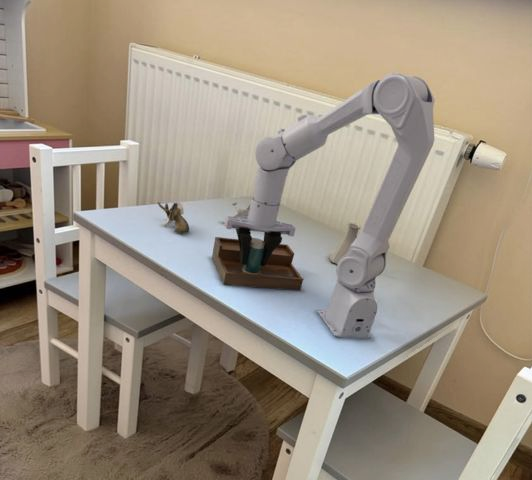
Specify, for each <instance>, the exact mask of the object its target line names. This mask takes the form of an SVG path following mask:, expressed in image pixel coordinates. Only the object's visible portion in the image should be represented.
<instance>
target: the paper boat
mask: <svg viewBox="0 0 532 480" xmlns="http://www.w3.org/2000/svg"><path fill="white" fill-rule="evenodd" d="M237 204H238V202H234V203H231V205H232V206H233V207H234V208H235V209H237V214H235V215H233V217H248V215H249V210H250V205H251V203H250V204H249V205H248V206H247V207H246V208H245V209H241V208H237V207H236V205H237ZM222 224H225V221H223V222H222Z"/></svg>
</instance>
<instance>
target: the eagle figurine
mask: <svg viewBox="0 0 532 480" xmlns="http://www.w3.org/2000/svg"><path fill="white" fill-rule="evenodd" d="M157 205H158V207H159V208H161V209H162V210H163V211H164V212H165V214H166V217H167V219H166V221H165V223H164V227H167V226H169V225H170V224H171V223H172V222H175V224H174V225H175V226H174V233H176V234H178V235H185V234H188V233H189V232H190V227H189V223H188V221H187V219H186V218H185V217H183V216H182V215H184V213H185V211H184V206H183V204H182V203H180V202H173V204H172V206H171V207H170V208H169V204H168V203H165V205H164V206H163V205H162V204H161V203H160V201H157Z"/></svg>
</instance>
